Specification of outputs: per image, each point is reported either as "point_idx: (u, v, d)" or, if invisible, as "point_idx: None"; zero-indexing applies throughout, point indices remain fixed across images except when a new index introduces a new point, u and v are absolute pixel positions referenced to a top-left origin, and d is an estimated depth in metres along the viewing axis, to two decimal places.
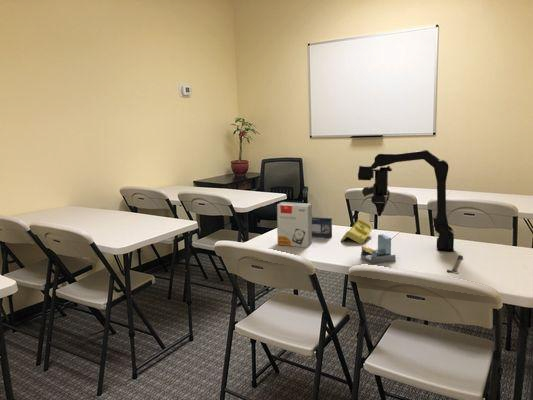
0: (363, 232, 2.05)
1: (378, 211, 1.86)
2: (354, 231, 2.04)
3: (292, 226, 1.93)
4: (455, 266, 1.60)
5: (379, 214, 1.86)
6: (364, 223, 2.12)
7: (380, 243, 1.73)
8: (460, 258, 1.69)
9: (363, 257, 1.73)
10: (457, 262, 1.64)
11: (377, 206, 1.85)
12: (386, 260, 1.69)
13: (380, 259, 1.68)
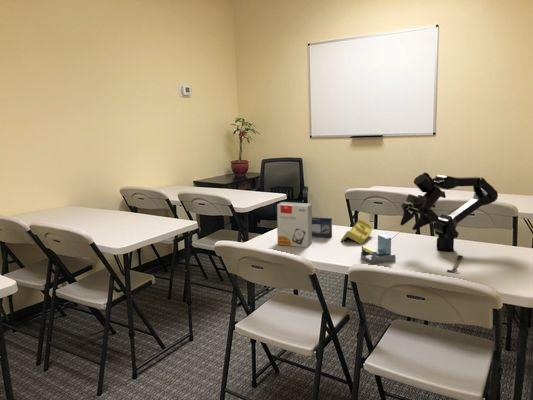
0: (363, 232, 2.05)
1: (417, 225, 1.70)
2: (354, 231, 2.04)
3: (292, 226, 1.93)
4: (455, 266, 1.60)
5: (415, 228, 1.70)
6: (365, 223, 2.12)
7: (380, 243, 1.73)
8: (460, 258, 1.69)
9: (363, 257, 1.73)
10: (457, 262, 1.65)
11: (421, 220, 1.70)
12: (386, 260, 1.69)
13: (380, 259, 1.68)
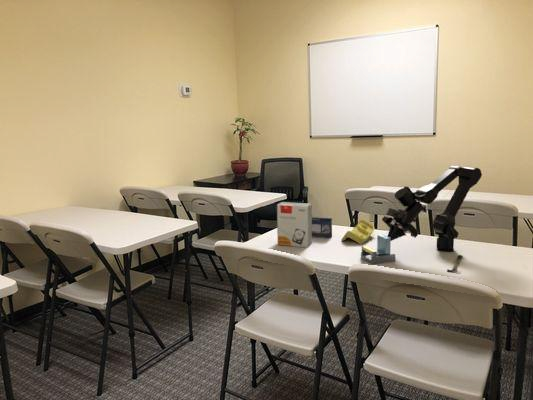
0: (365, 232, 2.05)
1: (391, 237, 1.72)
2: (356, 231, 2.04)
3: (292, 226, 1.93)
4: (455, 266, 1.61)
5: None
6: (367, 223, 2.11)
7: (379, 243, 1.73)
8: (460, 258, 1.70)
9: (363, 257, 1.73)
10: (457, 262, 1.65)
11: (395, 232, 1.71)
12: (386, 260, 1.69)
13: (380, 259, 1.68)
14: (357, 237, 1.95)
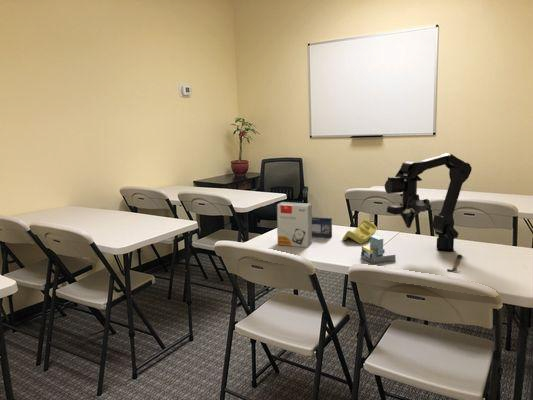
0: (367, 233, 2.04)
1: None
2: (357, 231, 2.04)
3: (292, 226, 1.93)
4: (455, 265, 1.61)
5: None
6: (370, 224, 2.10)
7: (372, 244, 1.72)
8: (460, 257, 1.70)
9: (363, 257, 1.73)
10: (457, 261, 1.65)
11: None
12: (386, 260, 1.69)
13: (380, 259, 1.68)
14: (357, 237, 1.95)
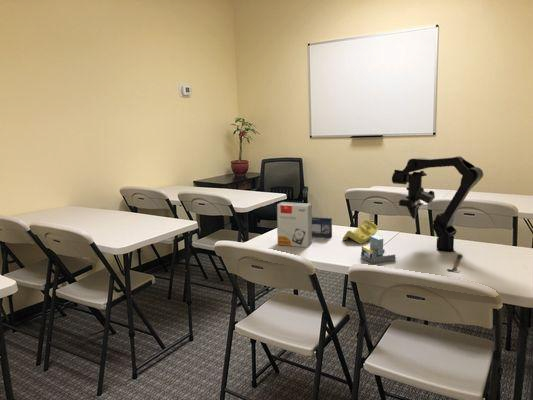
0: (367, 233, 2.04)
1: None
2: (358, 231, 2.04)
3: (292, 226, 1.93)
4: (455, 265, 1.61)
5: None
6: (371, 224, 2.10)
7: (372, 244, 1.72)
8: (460, 257, 1.70)
9: (363, 257, 1.73)
10: (457, 261, 1.65)
11: None
12: (386, 260, 1.69)
13: (380, 259, 1.68)
14: (357, 237, 1.95)
